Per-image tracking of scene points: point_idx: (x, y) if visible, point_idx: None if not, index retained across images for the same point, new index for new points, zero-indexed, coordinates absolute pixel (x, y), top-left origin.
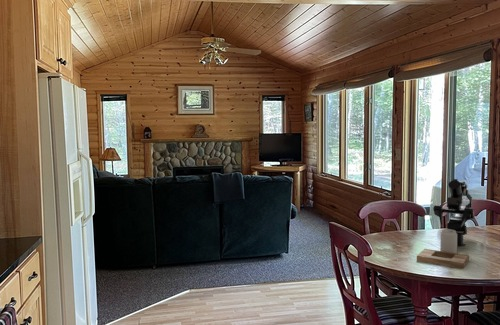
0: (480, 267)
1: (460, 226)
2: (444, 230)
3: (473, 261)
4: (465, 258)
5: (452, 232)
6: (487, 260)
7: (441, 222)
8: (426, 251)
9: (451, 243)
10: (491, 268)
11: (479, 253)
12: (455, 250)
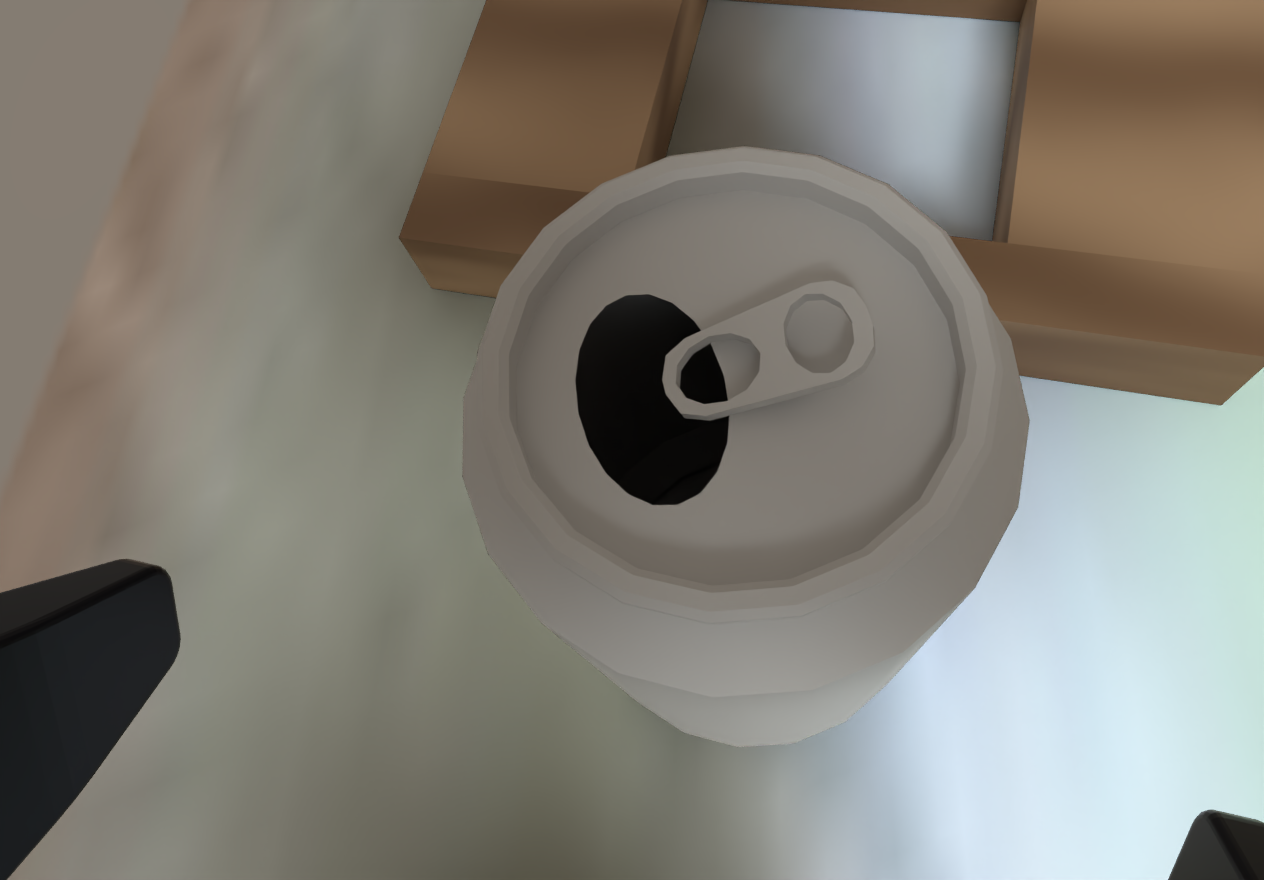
0: (339, 29)
1: (176, 611)
2: (907, 482)
3: (372, 257)
4: (488, 33)
5: (612, 198)
6: (143, 397)
7: (1235, 861)
8: (1178, 162)
9: (677, 319)
10: (212, 46)
11: (136, 848)
12: (607, 461)
